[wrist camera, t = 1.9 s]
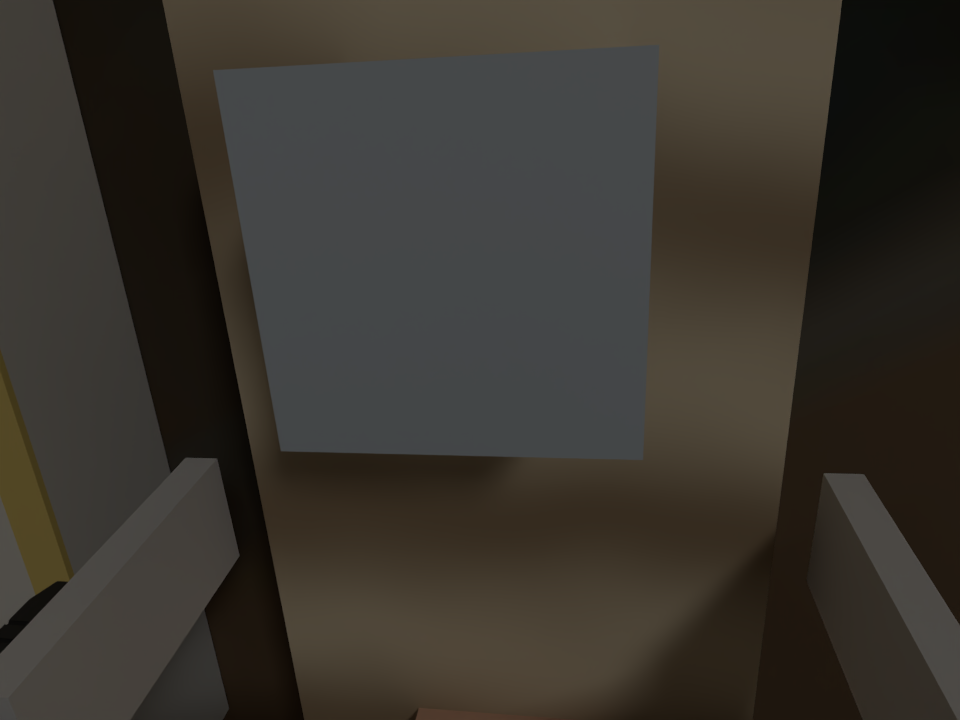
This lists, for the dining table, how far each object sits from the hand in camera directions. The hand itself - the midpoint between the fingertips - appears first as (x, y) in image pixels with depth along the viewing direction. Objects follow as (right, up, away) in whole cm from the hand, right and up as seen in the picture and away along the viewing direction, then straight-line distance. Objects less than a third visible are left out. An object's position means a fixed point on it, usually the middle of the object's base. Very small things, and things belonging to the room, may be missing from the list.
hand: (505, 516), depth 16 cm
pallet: (+1, +2, +6) cm, 6 cm away
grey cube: (0, +6, -3) cm, 7 cm away
